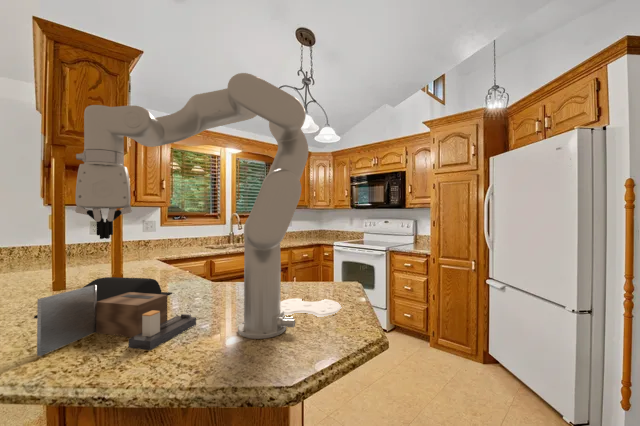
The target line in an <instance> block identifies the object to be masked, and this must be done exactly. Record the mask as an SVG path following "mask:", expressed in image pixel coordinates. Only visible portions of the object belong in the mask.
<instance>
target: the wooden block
mask: <svg viewBox="0 0 640 426" xmlns="http://www.w3.org/2000/svg"><path fill="white" fill-rule="evenodd" d="M152 310H155V311H160V324H161V323H163V322H165V321H167V320H168V296H167V295H162V294H149V293H135V292H128V293H125V294H121V295H118V296H114V297H111V298H107V299H104V300H101V301H97V321H96V333H95V334H101V335H102V334H103V335H113V336H121V337H129V338H131V337H133V336H136V335H138V334H140V333H142V314H144V313H147V312H149V311H152Z"/></svg>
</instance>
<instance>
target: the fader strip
mask: <svg viewBox="0 0 640 426" xmlns="http://www.w3.org/2000/svg"><path fill="white" fill-rule="evenodd" d="M194 325H195V326H196V325H197V317H194V316H192V314H190V313H189V314H188V313H181V314H180V315H176V316H174V317H172V318H170V319H167V321H165V322H163V323H161V324H160V332H159V333H157V334H155V335H153V336H151V337H148V336H142V333H140V334H138V335H136V336H133V337H129V338H128V341H127V343H128V348H129V349H137V350H144V351H152V350H153V349H154V350H155V348H157V347H159V346H160V345H162V344H164V343H167V342H168V341H170V340H171V339H173V338H175V337H176V336H178V334H179V335H180V334H182V333H184V332H186V331H187V330H189V329H191V328H193V327H195V326H194ZM192 326H193V327H192ZM190 327H191V328H190ZM188 328H189V329H188ZM185 330H186V331H185ZM183 331H184V332H183Z"/></svg>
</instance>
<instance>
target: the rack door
mask: <svg viewBox="0 0 640 426" xmlns="http://www.w3.org/2000/svg"><path fill="white" fill-rule="evenodd" d="M83 287H84V286H83ZM83 287H80V288H76V289H72V290H69V291H65V292H60V293H56V294H53V295H49V296H46V297H45V296H44V297H41V298H37V301H36V302H37V312H36V313H37V314H36V315H37V318H36V320H37V321H36V324H37V325H36V327H37V328H36V337H37V338H36V356H37V357H41V356H44V355H47V354H48V353H51V352H53V351H56V350H57V349H60V348H62V347H65V346H68V345H70V344H72V343H74V342H76V341H79V340H81V339H83V338H86V337H88V336H90V335H93V334H97V333H96V321H97V285H91V286H88V287H84V288H83Z"/></svg>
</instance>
